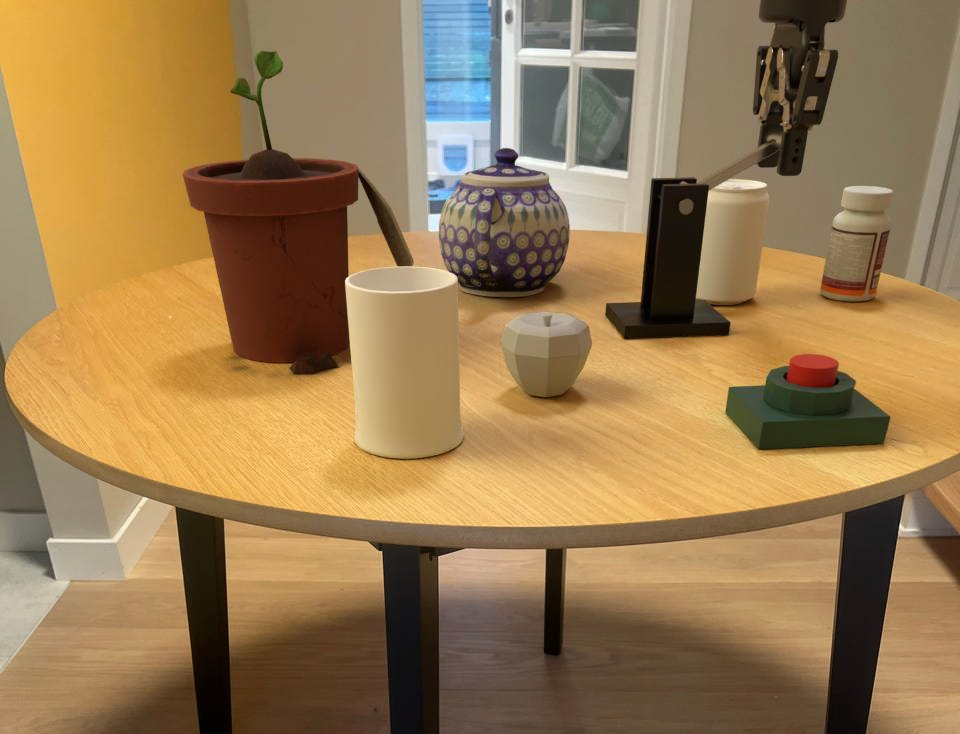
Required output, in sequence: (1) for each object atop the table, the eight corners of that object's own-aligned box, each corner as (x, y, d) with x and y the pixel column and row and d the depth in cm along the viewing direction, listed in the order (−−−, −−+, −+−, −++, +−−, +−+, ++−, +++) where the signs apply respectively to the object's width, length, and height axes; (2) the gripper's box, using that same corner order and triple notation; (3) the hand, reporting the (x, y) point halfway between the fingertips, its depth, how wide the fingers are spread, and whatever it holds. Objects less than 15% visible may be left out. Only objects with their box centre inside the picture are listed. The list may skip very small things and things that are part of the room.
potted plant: (264, 314, 104) (229, 47, 90) (451, 329, 99) (445, 48, 85) (179, 363, 90) (121, 55, 76) (392, 382, 85) (372, 56, 71)
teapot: (544, 319, 102) (549, 165, 93) (409, 310, 105) (402, 161, 97) (584, 267, 122) (591, 137, 113) (470, 261, 125) (469, 134, 117)
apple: (593, 407, 79) (598, 327, 76) (499, 406, 79) (500, 328, 76) (586, 376, 86) (590, 302, 82) (499, 376, 86) (500, 302, 82)
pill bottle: (853, 287, 112) (874, 183, 106) (886, 300, 107) (911, 191, 101) (808, 291, 111) (827, 186, 105) (839, 304, 106) (862, 195, 100)
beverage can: (742, 310, 104) (759, 192, 97) (672, 301, 108) (684, 186, 101) (762, 294, 110) (780, 181, 103) (696, 286, 113) (709, 176, 107)
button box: (840, 407, 79) (850, 359, 77) (884, 443, 72) (897, 392, 70) (724, 412, 78) (731, 364, 76) (758, 449, 72) (767, 398, 69)
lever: (783, 145, 94) (775, 121, 92) (803, 152, 89) (796, 127, 88) (662, 215, 96) (653, 193, 95) (676, 225, 92) (667, 201, 91)
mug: (372, 403, 80) (362, 254, 74) (472, 405, 80) (470, 256, 73) (344, 458, 71) (329, 292, 64) (458, 461, 70) (454, 294, 63)
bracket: (702, 311, 104) (720, 173, 96) (729, 335, 96) (750, 187, 89) (605, 315, 103) (614, 175, 95) (623, 338, 96) (635, 190, 88)
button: (823, 374, 75) (827, 352, 74) (842, 390, 72) (846, 367, 71) (779, 376, 75) (783, 354, 74) (796, 391, 72) (800, 369, 71)
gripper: (888, -46, 77) (844, 181, 87) (818, -39, 89) (786, 160, 99) (800, -46, 77) (765, 183, 86) (741, -39, 89) (717, 162, 98)
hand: (777, 170), depth 92 cm, fingers closed on lever, 5 cm apart
